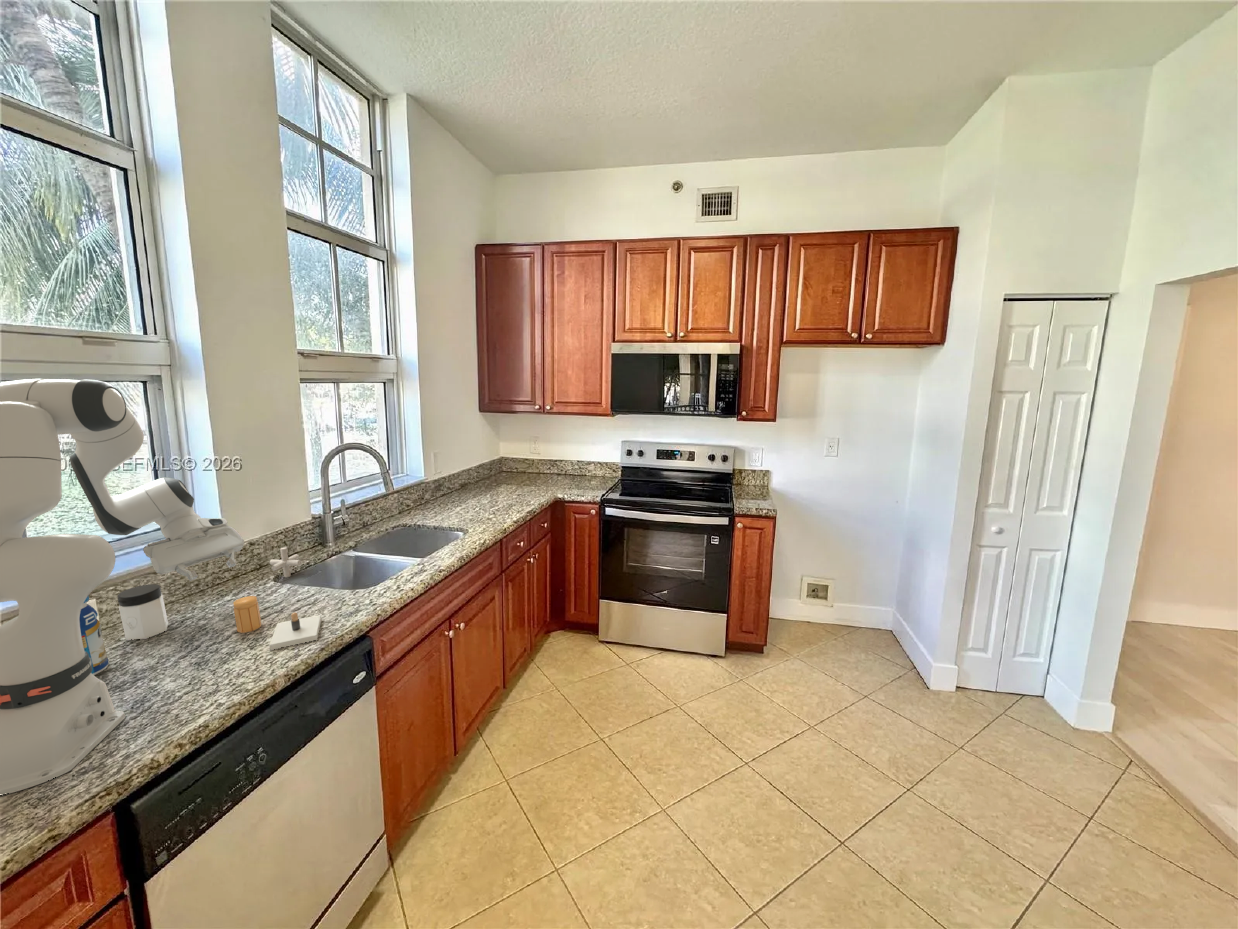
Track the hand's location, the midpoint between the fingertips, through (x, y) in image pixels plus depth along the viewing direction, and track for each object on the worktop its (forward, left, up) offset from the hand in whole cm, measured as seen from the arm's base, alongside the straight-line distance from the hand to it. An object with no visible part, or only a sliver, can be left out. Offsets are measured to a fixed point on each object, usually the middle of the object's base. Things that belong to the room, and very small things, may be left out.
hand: (214, 571), depth 134 cm
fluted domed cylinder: (-9, -8, -14) cm, 19 cm away
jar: (+1, +16, -14) cm, 22 cm away
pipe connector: (+27, -12, -14) cm, 33 cm away
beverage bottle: (-16, +22, -14) cm, 31 cm away
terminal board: (-19, -20, -14) cm, 31 cm away
